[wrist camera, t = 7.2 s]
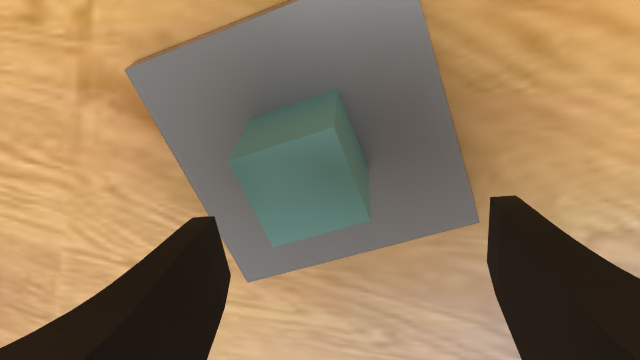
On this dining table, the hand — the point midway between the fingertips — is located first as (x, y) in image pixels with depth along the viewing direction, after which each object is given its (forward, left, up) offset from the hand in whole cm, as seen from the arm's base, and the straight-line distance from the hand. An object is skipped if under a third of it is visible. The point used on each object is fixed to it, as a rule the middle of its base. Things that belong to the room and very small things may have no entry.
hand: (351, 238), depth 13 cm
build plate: (-1, +2, -10) cm, 10 cm away
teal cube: (-1, +2, -9) cm, 9 cm away
